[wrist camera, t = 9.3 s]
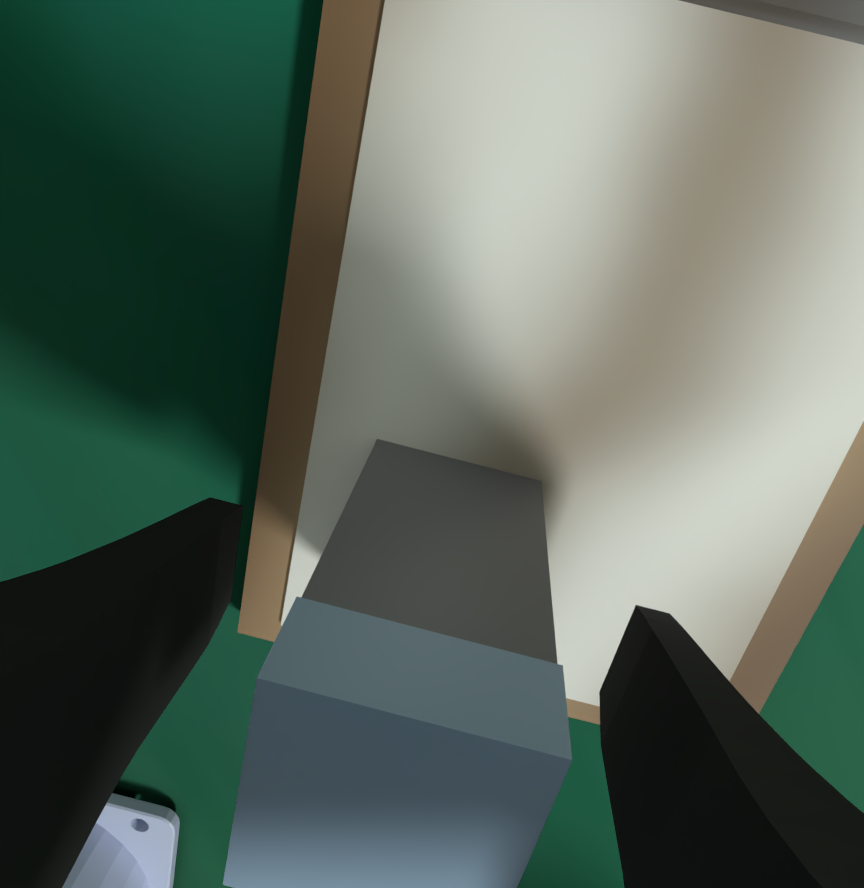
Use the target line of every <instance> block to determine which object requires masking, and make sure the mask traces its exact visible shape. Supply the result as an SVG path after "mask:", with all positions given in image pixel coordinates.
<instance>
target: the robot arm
mask: <svg viewBox="0 0 864 888" xmlns="http://www.w3.org/2000/svg"><path fill="white" fill-rule="evenodd" d="M242 510H243V506H242V505H238V504H234V503H230V502H226V501H222V500H218V499H214V498H208V499H206V500H203V501H201V502H199V503H196V504H194V505H192V506H190V507H188V508H186V509H184V510H182V511H180V512H177V513H175V514H173V515H171V516H169V517H167V518H165V519H163V520H161V521H159V522H156V523H154V524H152V525H150V526H148V527H146V528H144V529H141V530H139V531H137V532H135V533H133V534H131V535H128V536H126V537H124V538H122V539H119V540H117V541H114V542H112V543H109V544H107V545H105V546H102V547H100V548H97V549H95V550H92V551H90V552H87V553H85V554H82V555H80V556H77V557H75V558H73V559H70V560H67V561H65V562H62V563H59V564H56V565H53V566H50V567H47V568H45V569H42V570H39V571H35V572H32V573H29V574H26V575H22V576H19V577H16V578H13V579H9V580H6V581H3V582H0V888H173V880H174V871H175V862H176V853H177V844H178V835H179V825H180V822H179V817H178V816H177V814H176V813H175V812H174V811H173V810H171V809H170V808H167V807H165V806H161V805H157V804H154V803H150V802H146V801H142V800H138V799H134V798H130V797H126V796H123V795H119V794H115V793H112V792H113V791H114V789H115V787H116V785H117V783H118V781H119V780H120V778H121V776H122V774H123V772H124V771H125V769H126V767H127V766H128V764H129V763H130V761H131V759H132V758H133V756H134V754H135V753H136V751H137V750H138V748H139V746H140V745H141V743H142V742H143V741H144V739H145V738H146V736H147V735H148V733H149V732H150V730H151V729H152V727H153V726H154V724H155V723H156V721H157V720H158V718H159V717H160V716H161V714H162V713H163V711H164V710H165V708H166V707H167V705H168V704H169V702H170V701H171V699H172V698H173V696H174V695H175V694H176V692H177V691H178V689H179V688H180V686H181V685H182V683H183V682H184V680H185V679H186V677H187V676H188V674H189V673H190V671H191V670H192V668H193V667H194V665H195V664H196V662H197V661H198V659H199V658H200V656H201V655H202V653H203V652H204V650H205V649H206V647H207V646H208V644H209V642H210V640H211V638H212V636H213V634H214V632H215V630H216V628H217V626H218V624H219V622H220V620H221V618H222V616H223V614H224V612H225V610H226V608H227V606H228V604H229V602H230V600H231V596H232V588H233V580H234V573H235V565H236V557H237V549H238V541H239V534H240V526H241V518H242ZM599 699H600V733H601V748H602V754H603V761H604V767H605V773H606V779H607V785H608V791H609V796H610V802H611V808H612V814H613V819H614V825H615V831H616V836H617V842H618V848H619V854H620V859H621V865H622V871H623V878H624V886H625V888H864V813H862V812H861V811H860V810H859V809H858V808H857V807H855V806H854V805H853V804H852V803H851V802H849V801H848V800H847V799H846V798H845V797H844V796H843V795H841V794H840V793H839V792H838V791H837V790H836V789H835V788H834V787H833V786H832V785H830V784H829V783H828V782H827V781H826V780H825V779H824V778H823V777H822V776H821V775H819V774H818V773H817V772H816V771H815V770H814V769H813V768H812V767H811V766H809V765H808V764H807V763H806V762H805V761H804V760H803V759H802V758H801V757H800V756H799V755H798V754H797V753H796V752H795V751H794V750H793V749H792V748H791V747H790V746H789V745H788V744H787V743H786V742H785V741H784V740H783V739H782V738H781V737H780V736H779V735H778V734H777V733H776V732H775V731H774V730H773V729H772V727H771V726H770V725H769V724H768V723H767V722H766V721H765V720H764V719H763V718H762V717H761V716H760V715H759V714H758V713H757V712H756V711H755V709H754V708H753V707H752V706H751V705H750V704H749V703H748V702H747V701H746V700H745V699H744V697H743V696H742V695H741V694H740V693H739V692H738V691H737V690H736V688H735V687H734V686H733V685H732V684H731V683H730V682H729V680H728V679H727V678H726V677H725V676H724V675H723V673H722V672H721V671H720V670H719V669H718V668H717V667H716V665H715V664H714V663H713V662H712V661H711V659H710V658H709V657H708V656H707V655H706V654H705V652H704V651H703V650H702V649H701V648H700V647H699V645H698V644H697V643H696V642H695V641H694V640H693V638H692V637H691V636H690V635H689V634H688V633H687V631H686V630H685V629H684V628H683V627H682V626H681V625H680V624H679V623H678V622H677V620H676V619H675V618H674V617H673V616H672V615H671V614H670V613H666V612H662V611H658V610H654V609H650V608H646V607H642V606H638V605H636V606H635V608H634V611H633V613H632V615H631V618H630V620H629V622H628V625H627V627H626V630H625V632H624V634H623V637H622V639H621V642H620V644H619V646H618V649H617V651H616V653H615V656H614V658H613V661H612V663H611V665H610V668H609V670H608V672H607V675H606V677H605V680H604V682H603V684H602V687H601V689H600V692H599Z"/></svg>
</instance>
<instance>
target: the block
mask: <svg viewBox="0 0 864 888" xmlns="http://www.w3.org/2000/svg"><path fill="white" fill-rule="evenodd" d="M571 761H572V754H571V743H570V733H569V723H568V713H567V703H566V693H565V683H564V672H563V665H559V664H557V652H556V641H555V630H554V618H553V607H552V596H551V584H550V573H549V562H548V550H547V539H546V528H545V516H544V505H543V494H542V482H541V481H540V480H536V479H532V478H528V477H524V476H520V475H516V474H512V473H508V472H504V471H501V470H497V469H493V468H489V467H485V466H481V465H477V464H473V463H469V462H466V461H462V460H458V459H454V458H450V457H446V456H442V455H438V454H434V453H430V452H427V451H423V450H419V449H415V448H411V447H407V446H403V445H399V444H395V443H392V442H388V441H384V440H380V439H377V440H376V442H375V444H374V446H373V449H372V451H371V453H370V455H369V457H368V459H367V461H366V463H365V465H364V467H363V469H362V472H361V474H360V476H359V478H358V480H357V482H356V484H355V486H354V488H353V490H352V492H351V495H350V497H349V499H348V501H347V503H346V505H345V507H344V509H343V511H342V513H341V516H340V518H339V520H338V522H337V524H336V526H335V528H334V530H333V532H332V534H331V536H330V539H329V541H328V543H327V545H326V547H325V549H324V551H323V553H322V555H321V557H320V559H319V562H318V564H317V566H316V568H315V570H314V572H313V574H312V576H311V578H310V580H309V582H308V585H307V587H306V589H305V591H304V593H303V595H302V597H296V599H295V601H294V603H293V605H292V607H291V609H290V611H289V613H288V615H287V617H286V619H285V621H284V623H283V625H282V627H281V629H280V631H279V634H278V636H277V638H276V640H275V642H274V644H273V646H272V648H271V650H270V652H269V654H268V656H267V658H266V660H265V662H264V664H263V666H262V668H261V670H260V672H259V674H258V676H257V680H256V686H255V692H254V698H253V704H252V710H251V716H250V722H249V728H248V734H247V741H246V747H245V753H244V759H243V765H242V771H241V777H240V783H239V789H238V795H237V801H236V808H235V814H234V820H233V826H232V832H231V838H230V844H229V850H228V856H227V862H226V869H225V875H224V881H223V885H226V886H230V887H233V888H517V887H518V884H519V882H520V880H521V878H522V875H523V873H524V871H525V868H526V866H527V864H528V861H529V859H530V857H531V854H532V852H533V850H534V847H535V845H536V843H537V840H538V838H539V836H540V833H541V831H542V829H543V826H544V824H545V822H546V819H547V817H548V815H549V813H550V810H551V808H552V806H553V803H554V801H555V799H556V796H557V794H558V792H559V789H560V787H561V785H562V782H563V780H564V778H565V775H566V773H567V771H568V768H569V766H570V764H571Z"/></svg>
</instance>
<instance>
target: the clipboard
mask: <svg viewBox="0 0 864 888" xmlns="http://www.w3.org/2000/svg"><path fill="white" fill-rule="evenodd" d="M377 439H380V440H384V441H388V442H392V443H395V444H399V445H403V446H407V447H411V448H415V449H419V450H423V451H427V452H430V453H434V454H438V455H442V456H446V457H450V458H454V459H458V460H462V461H466V462H469V463H473V464H477V465H481V466H485V467H489V468H493V469H497V470H501V471H504V472H508V473H512V474H516V475H520V476H524V477H528V478H532V479H536V480H540V481H541V482H542V494H543V505H544V516H545V528H546V539H547V550H548V562H549V573H550V584H551V596H552V607H553V618H554V630H555V641H556V652H557V664H559V665H563V672H564V683H565V693H566V703H567V713H568V717H572V718H576V719H579V720H583V721H587V722H591V723H595V724H599V725H600V699H599V692H600V689H601V687H602V684H603V682H604V680H605V677H606V675H607V672H608V670H609V668H610V665H611V663H612V661H613V658H614V656H615V653H616V651H617V649H618V646H619V644H620V642H621V639H622V637H623V634H624V632H625V630H626V627H627V625H628V622H629V620H630V618H631V615H632V613H633V611H634V608H635V606H636V605H638V606H642V607H646V608H650V609H654V610H658V611H662V612H666V613H670V614H671V615H672V616H673V617H674V618H675V619H676V620H677V622H678V623H679V624H680V625H681V626H682V627H683V628H684V629H685V630H686V631H687V633H688V634H689V635H690V636H691V637H692V638H693V640H694V641H695V642H696V643H697V644H698V645H699V647H700V648H701V649H702V650H703V651H704V652H705V654H706V655H707V656H708V657H709V658H710V659H711V661H712V662H713V663H714V664H715V665H716V667H717V668H718V669H719V670H720V671H721V672H722V673H723V675H724V676H725V677H726V678H727V679H728V680H729V682H730V683H731V684H732V685H733V686H734V687H735V688H736V690H737V691H738V692H739V693H740V694H741V695H742V696H743V697H744V699H745V700H746V701H747V702H748V703H749V704H750V705H751V706H752V707H753V708H754V709H755V711H756V712H757V713H758V714H759V712H760V711H761V709H762V707H763V705H764V703H765V702H766V700H767V698H768V696H769V694H770V693H771V691H772V689H773V687H774V685H775V683H776V682H777V680H778V678H779V676H780V674H781V673H782V671H783V669H784V667H785V665H786V663H787V662H788V660H789V658H790V656H791V654H792V653H793V651H794V649H795V647H796V645H797V644H798V642H799V640H800V638H801V636H802V634H803V633H804V631H805V629H806V627H807V625H808V624H809V622H810V620H811V618H812V616H813V615H814V613H815V611H816V609H817V607H818V605H819V604H820V602H821V600H822V598H823V596H824V595H825V593H826V591H827V589H828V587H829V585H830V584H831V582H832V580H833V578H834V576H835V575H836V573H837V571H838V569H839V567H840V566H841V564H842V562H843V560H844V558H845V556H846V555H847V553H848V551H849V549H850V547H851V546H852V544H853V542H854V540H855V538H856V537H857V535H858V533H859V531H860V529H861V527H862V526H863V524H864V0H323V8H322V15H321V22H320V30H319V37H318V45H317V52H316V59H315V67H314V74H313V81H312V89H311V96H310V103H309V111H308V118H307V125H306V133H305V140H304V147H303V155H302V162H301V169H300V177H299V184H298V192H297V199H296V206H295V214H294V221H293V228H292V236H291V243H290V250H289V258H288V265H287V272H286V280H285V287H284V294H283V302H282V309H281V316H280V324H279V331H278V339H277V346H276V353H275V361H274V368H273V375H272V383H271V390H270V397H269V405H268V412H267V419H266V427H265V434H264V441H263V449H262V456H261V463H260V471H259V478H258V486H257V493H256V500H255V508H254V515H253V522H252V530H251V537H250V544H249V552H248V559H247V566H246V574H245V581H244V588H243V596H242V603H241V610H240V618H239V625H238V633H241V634H245V635H249V636H253V637H257V638H261V639H265V640H269V641H273V642H275V640H276V638H277V636H278V634H279V631H280V629H281V627H282V625H283V623H284V621H285V619H286V617H287V615H288V613H289V611H290V609H291V607H292V605H293V603H294V601H295V599H296V597H302V595H303V593H304V591H305V589H306V587H307V585H308V582H309V580H310V578H311V576H312V574H313V572H314V570H315V568H316V566H317V564H318V562H319V559H320V557H321V555H322V553H323V551H324V549H325V547H326V545H327V543H328V541H329V539H330V536H331V534H332V532H333V530H334V528H335V526H336V524H337V522H338V520H339V518H340V516H341V513H342V511H343V509H344V507H345V505H346V503H347V501H348V499H349V497H350V495H351V492H352V490H353V488H354V486H355V484H356V482H357V480H358V478H359V476H360V474H361V472H362V469H363V467H364V465H365V463H366V461H367V459H368V457H369V455H370V453H371V451H372V449H373V446H374V444H375V442H376V440H377Z"/></svg>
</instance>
